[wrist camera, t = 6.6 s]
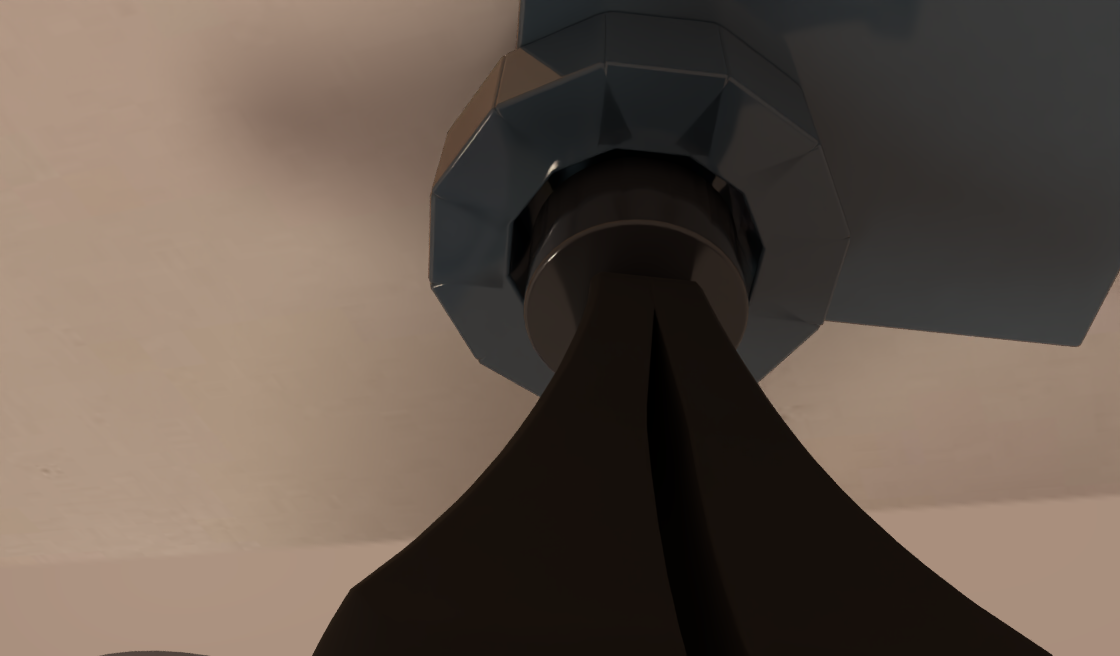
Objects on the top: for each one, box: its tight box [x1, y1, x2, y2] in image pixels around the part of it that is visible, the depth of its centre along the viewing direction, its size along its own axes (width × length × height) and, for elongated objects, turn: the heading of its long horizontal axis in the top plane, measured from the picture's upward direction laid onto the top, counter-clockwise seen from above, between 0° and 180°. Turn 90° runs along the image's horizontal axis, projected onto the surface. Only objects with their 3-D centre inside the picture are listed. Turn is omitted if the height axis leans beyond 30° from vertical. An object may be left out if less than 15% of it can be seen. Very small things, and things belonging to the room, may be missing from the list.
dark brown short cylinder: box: [523, 157, 749, 373], centre depth 14 cm, size 3×3×2 cm
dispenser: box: [428, 0, 1120, 397], centre depth 15 cm, size 11×11×4 cm
